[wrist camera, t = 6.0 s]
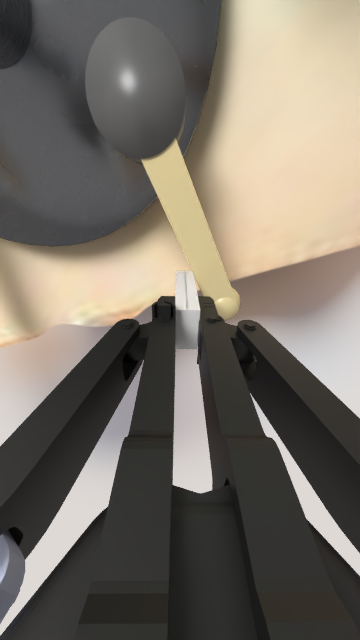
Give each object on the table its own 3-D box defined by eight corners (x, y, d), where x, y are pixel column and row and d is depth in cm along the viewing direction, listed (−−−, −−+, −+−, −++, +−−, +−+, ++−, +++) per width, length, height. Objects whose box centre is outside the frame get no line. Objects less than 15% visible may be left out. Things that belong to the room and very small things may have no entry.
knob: (96, 98, 14) (60, 58, 10) (163, 48, 13) (154, -22, 9) (199, 308, 22) (203, 336, 18) (245, 290, 21) (261, 314, 17)
